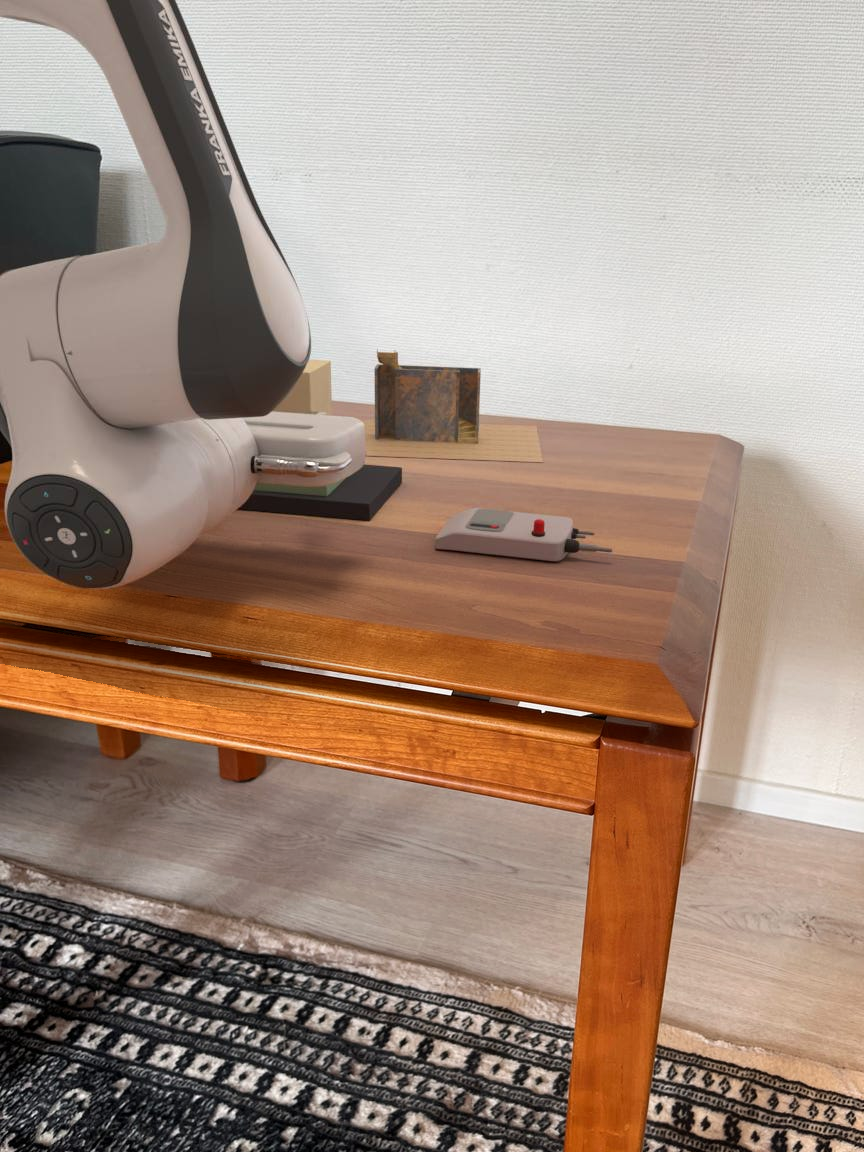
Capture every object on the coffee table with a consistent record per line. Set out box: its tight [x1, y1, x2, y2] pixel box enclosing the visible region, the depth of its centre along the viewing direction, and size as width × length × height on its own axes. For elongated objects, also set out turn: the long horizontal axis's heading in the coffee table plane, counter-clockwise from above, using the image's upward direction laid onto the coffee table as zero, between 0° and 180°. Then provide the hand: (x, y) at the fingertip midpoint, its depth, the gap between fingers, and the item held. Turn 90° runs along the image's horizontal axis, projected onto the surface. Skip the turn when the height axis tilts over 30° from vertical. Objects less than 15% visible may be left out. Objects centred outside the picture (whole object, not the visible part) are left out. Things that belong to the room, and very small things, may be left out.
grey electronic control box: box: [414, 507, 613, 562], centre depth 82 cm, size 7×16×3 cm, turn 77°
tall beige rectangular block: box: [273, 359, 333, 416], centre depth 90 cm, size 4×6×10 cm, turn 170°
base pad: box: [237, 463, 403, 521], centre depth 92 cm, size 16×12×4 cm
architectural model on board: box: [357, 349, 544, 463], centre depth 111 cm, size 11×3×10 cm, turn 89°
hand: (261, 417), depth 81 cm, fingers open, 8 cm apart
